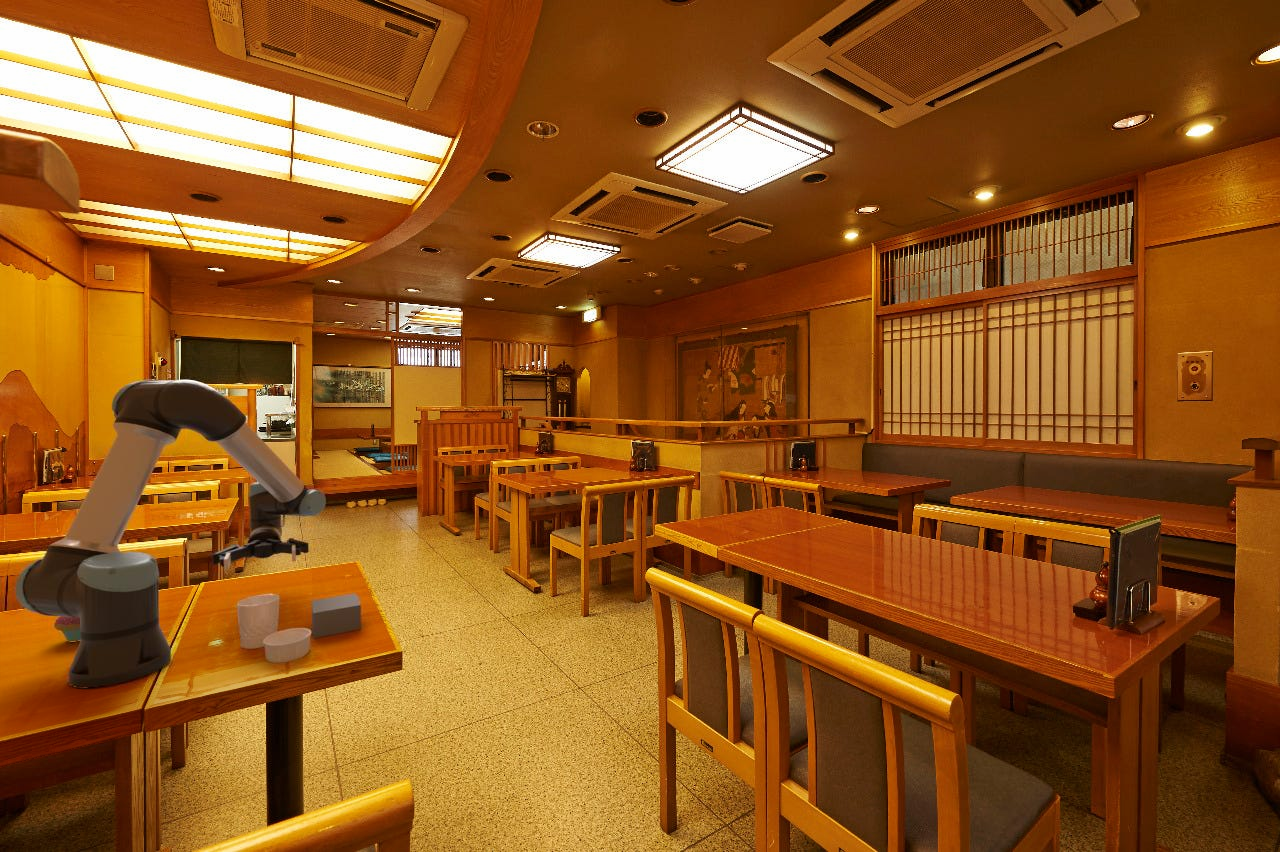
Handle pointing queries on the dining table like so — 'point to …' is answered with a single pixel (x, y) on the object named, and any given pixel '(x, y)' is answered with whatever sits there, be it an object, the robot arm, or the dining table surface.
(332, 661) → the dining table surface
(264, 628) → the white cup
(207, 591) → the dining table surface
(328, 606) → the gray rectangular block
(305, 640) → the ramekin
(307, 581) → the dining table surface
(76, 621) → the cupcake
